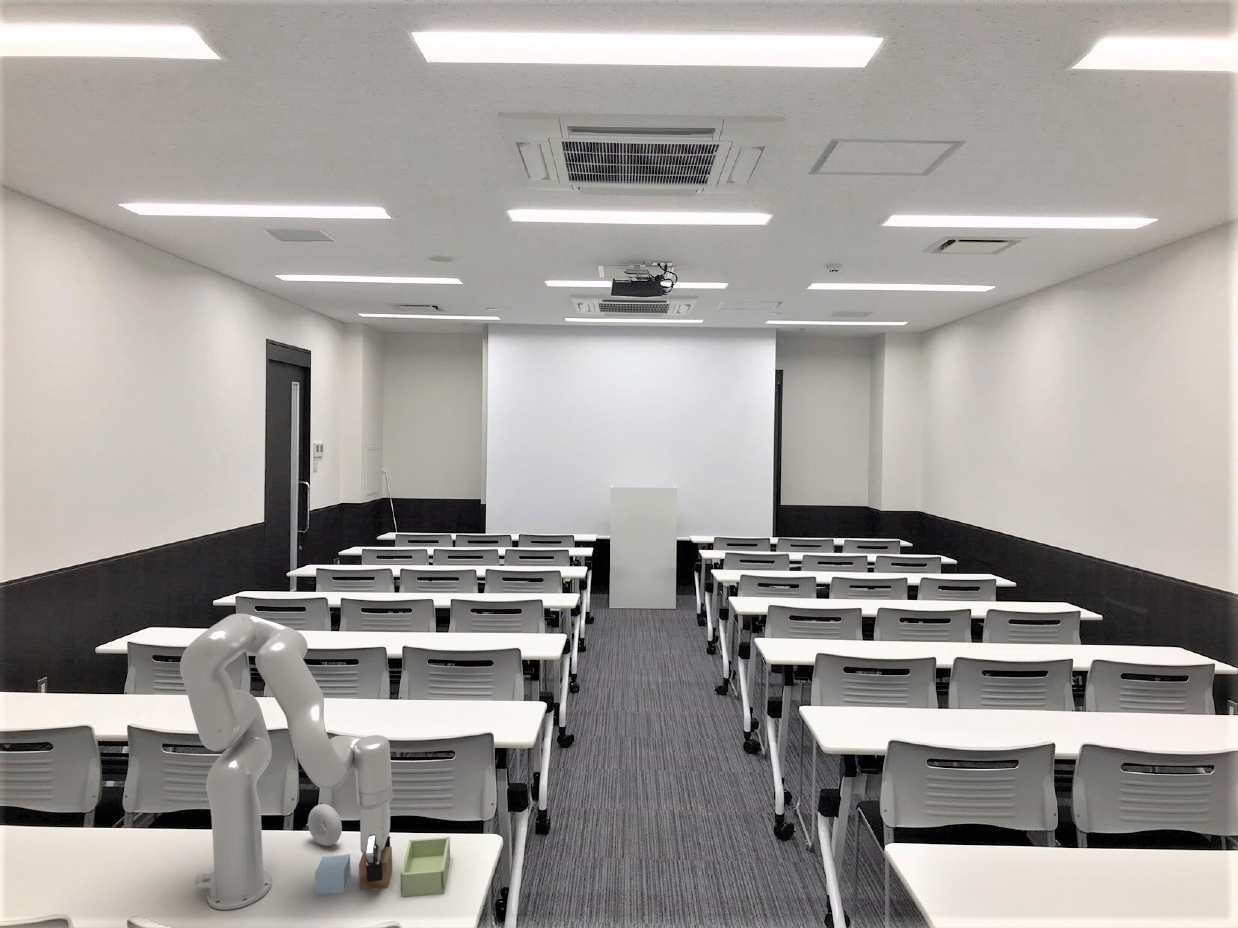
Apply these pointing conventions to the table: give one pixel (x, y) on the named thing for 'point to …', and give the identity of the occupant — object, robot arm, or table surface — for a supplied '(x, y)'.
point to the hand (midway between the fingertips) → (379, 866)
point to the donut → (318, 828)
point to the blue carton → (332, 874)
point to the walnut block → (386, 870)
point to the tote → (425, 867)
